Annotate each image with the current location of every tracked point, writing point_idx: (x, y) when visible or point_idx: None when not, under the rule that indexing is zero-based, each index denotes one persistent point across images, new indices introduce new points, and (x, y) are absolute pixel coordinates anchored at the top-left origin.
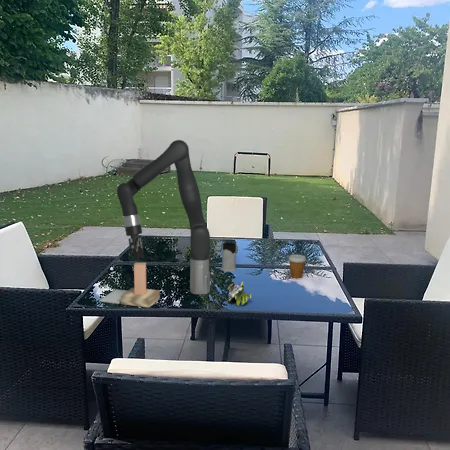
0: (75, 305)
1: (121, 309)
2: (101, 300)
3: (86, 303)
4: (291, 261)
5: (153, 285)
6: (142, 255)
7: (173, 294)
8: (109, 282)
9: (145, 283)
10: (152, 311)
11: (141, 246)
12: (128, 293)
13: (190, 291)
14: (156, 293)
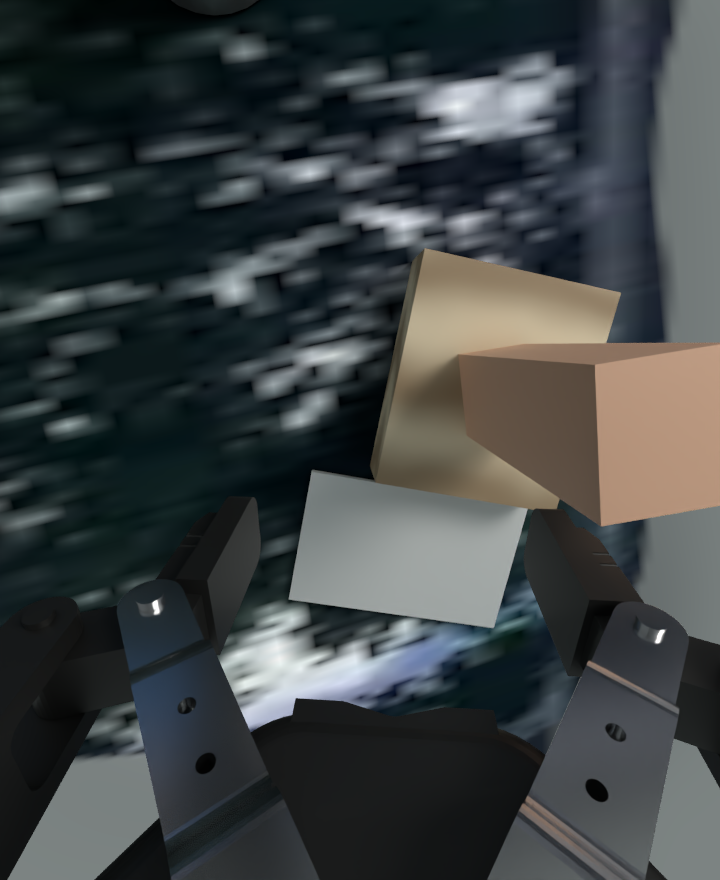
0: (556, 714)
1: None
2: (494, 615)
3: (525, 675)
4: None
5: (133, 370)
6: (250, 513)
7: (312, 165)
8: None
9: (570, 343)
10: (649, 262)
11: (189, 631)
12: (508, 474)
13: (238, 7)
14: (487, 263)
